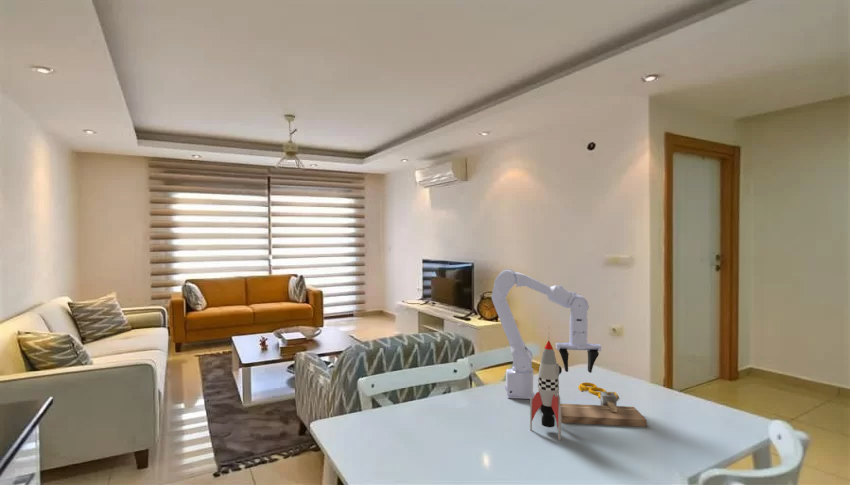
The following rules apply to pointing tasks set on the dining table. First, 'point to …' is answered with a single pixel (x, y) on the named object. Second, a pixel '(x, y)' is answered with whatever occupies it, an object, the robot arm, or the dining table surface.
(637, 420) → the board
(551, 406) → the toy
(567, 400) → the dining table surface
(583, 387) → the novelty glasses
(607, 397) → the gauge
